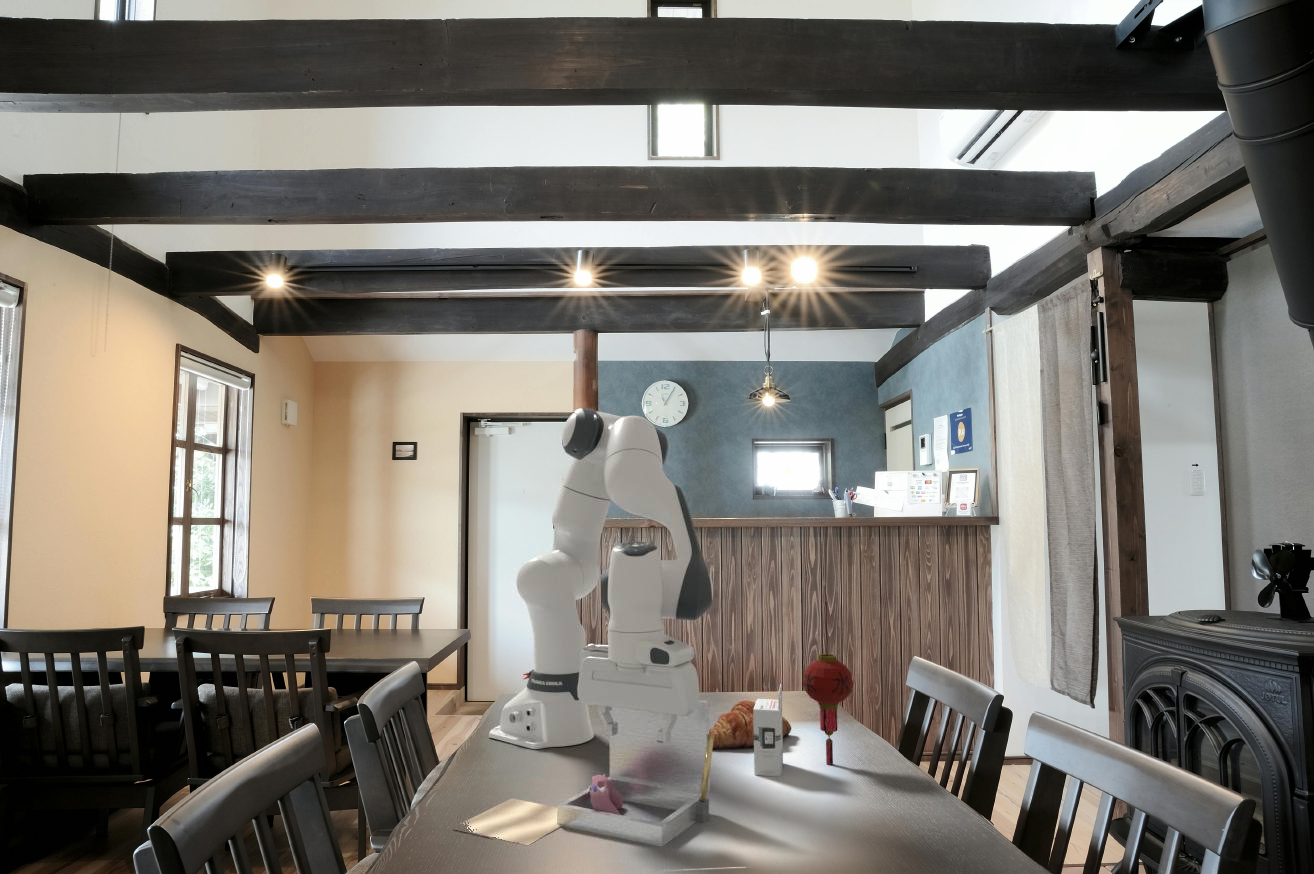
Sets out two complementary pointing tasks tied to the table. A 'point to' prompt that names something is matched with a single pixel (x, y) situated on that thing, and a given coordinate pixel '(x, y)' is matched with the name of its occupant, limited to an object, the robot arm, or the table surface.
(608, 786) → the pink rounded figure
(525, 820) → the pad
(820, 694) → the lantern
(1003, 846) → the table surface
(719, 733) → the pastry
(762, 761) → the ink box
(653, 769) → the case
